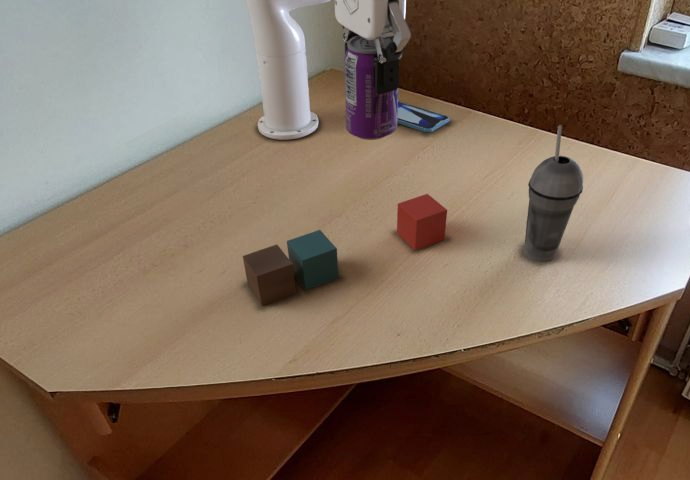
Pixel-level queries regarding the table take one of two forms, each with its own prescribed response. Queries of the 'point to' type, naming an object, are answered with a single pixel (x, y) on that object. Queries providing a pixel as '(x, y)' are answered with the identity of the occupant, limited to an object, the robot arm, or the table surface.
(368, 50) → the beverage can
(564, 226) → the beverage cup
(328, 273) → the block
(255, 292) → the block
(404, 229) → the block
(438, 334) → the table surface
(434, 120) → the smartphone
